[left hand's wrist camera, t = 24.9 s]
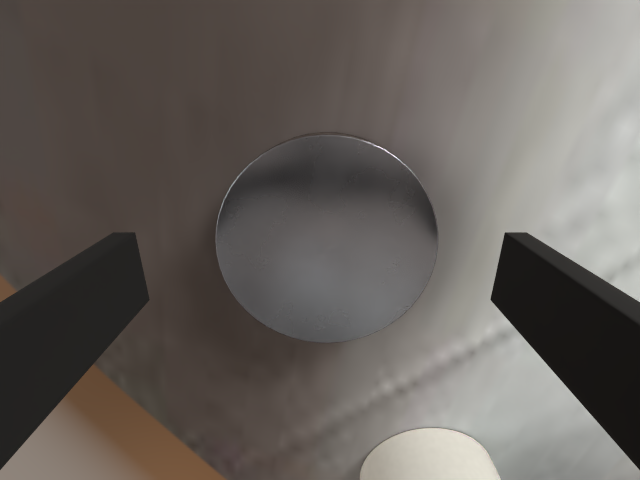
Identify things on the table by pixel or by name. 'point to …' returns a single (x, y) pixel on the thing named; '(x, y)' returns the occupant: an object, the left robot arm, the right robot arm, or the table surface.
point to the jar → (429, 457)
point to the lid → (326, 238)
